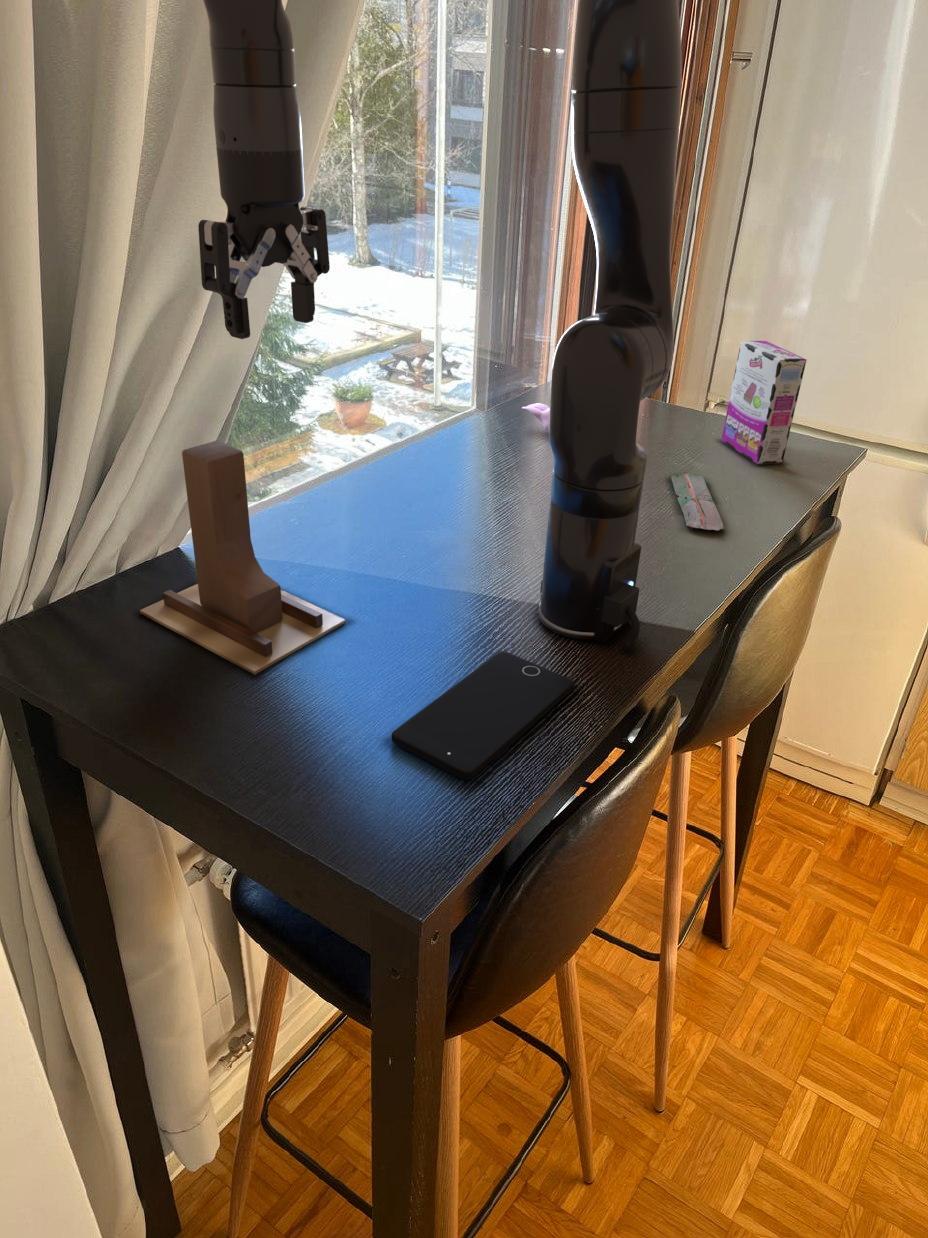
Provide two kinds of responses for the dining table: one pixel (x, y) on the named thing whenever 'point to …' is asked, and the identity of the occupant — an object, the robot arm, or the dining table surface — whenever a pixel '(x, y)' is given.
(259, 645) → the guide
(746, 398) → the candy bar box
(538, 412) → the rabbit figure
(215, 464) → the wooden block
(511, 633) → the dining table surface
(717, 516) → the map
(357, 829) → the dining table surface
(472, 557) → the dining table surface
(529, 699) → the cell phone
